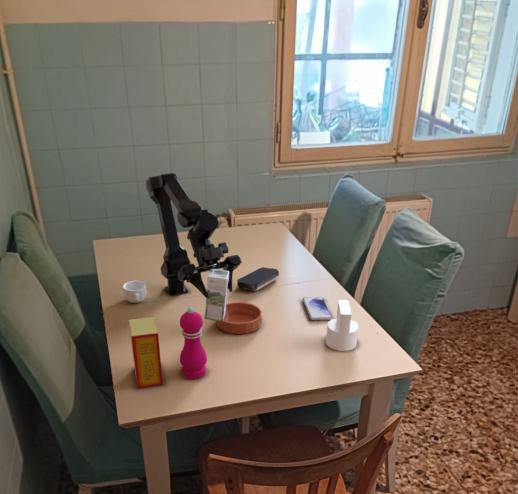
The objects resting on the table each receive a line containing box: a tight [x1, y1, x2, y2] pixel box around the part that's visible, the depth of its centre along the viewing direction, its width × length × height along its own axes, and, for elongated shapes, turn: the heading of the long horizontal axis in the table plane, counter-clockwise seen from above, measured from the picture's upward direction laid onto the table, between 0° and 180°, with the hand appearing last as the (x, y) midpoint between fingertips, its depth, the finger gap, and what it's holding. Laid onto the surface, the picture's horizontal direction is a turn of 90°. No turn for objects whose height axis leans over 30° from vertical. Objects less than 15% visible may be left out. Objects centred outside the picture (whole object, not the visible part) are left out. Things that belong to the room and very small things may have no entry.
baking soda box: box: [128, 315, 164, 389], centre depth 148 cm, size 10×6×16 cm
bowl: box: [215, 301, 263, 335], centre depth 177 cm, size 14×14×4 cm
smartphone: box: [302, 296, 333, 321], centre depth 186 cm, size 7×1×15 cm
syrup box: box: [204, 269, 229, 322], centre depth 167 cm, size 6×6×14 cm
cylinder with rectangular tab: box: [325, 299, 359, 352], centre depth 166 cm, size 9×9×12 cm
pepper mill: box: [179, 306, 208, 380], centre depth 149 cm, size 7×7×20 cm
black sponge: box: [236, 266, 280, 292], centre depth 202 cm, size 16×8×4 cm, turn 143°
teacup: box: [122, 280, 148, 304], centre depth 188 cm, size 10×8×5 cm
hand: (219, 294), depth 166 cm, fingers closed on syrup box, 7 cm apart
